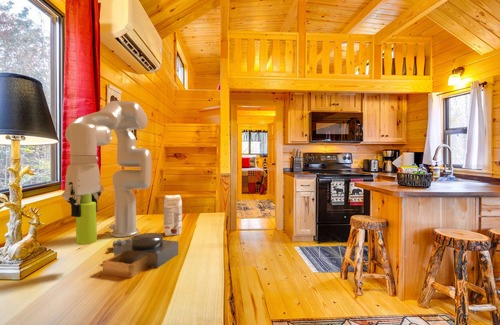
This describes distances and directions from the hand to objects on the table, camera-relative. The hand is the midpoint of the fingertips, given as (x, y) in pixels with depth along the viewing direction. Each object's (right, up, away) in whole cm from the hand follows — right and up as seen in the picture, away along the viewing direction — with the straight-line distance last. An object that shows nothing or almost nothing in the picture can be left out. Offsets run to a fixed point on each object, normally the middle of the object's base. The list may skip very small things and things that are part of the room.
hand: (84, 213), depth 91 cm
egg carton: (+4, -19, +23) cm, 30 cm away
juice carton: (+17, -19, +44) cm, 51 cm away
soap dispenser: (0, -10, 0) cm, 10 cm away
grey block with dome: (+15, -19, +8) cm, 26 cm away
